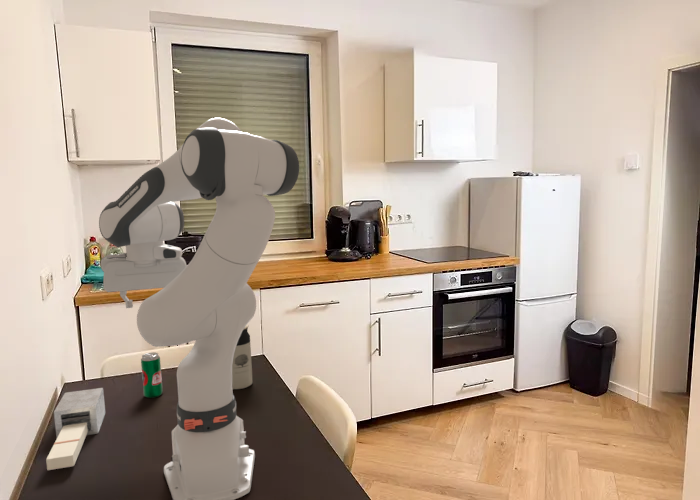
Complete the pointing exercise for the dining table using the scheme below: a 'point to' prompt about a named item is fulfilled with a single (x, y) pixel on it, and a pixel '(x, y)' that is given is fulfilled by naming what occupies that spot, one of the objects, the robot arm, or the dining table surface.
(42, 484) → the dining table surface
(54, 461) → the ticket
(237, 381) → the white bottle
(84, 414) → the dispenser
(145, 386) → the soda can
